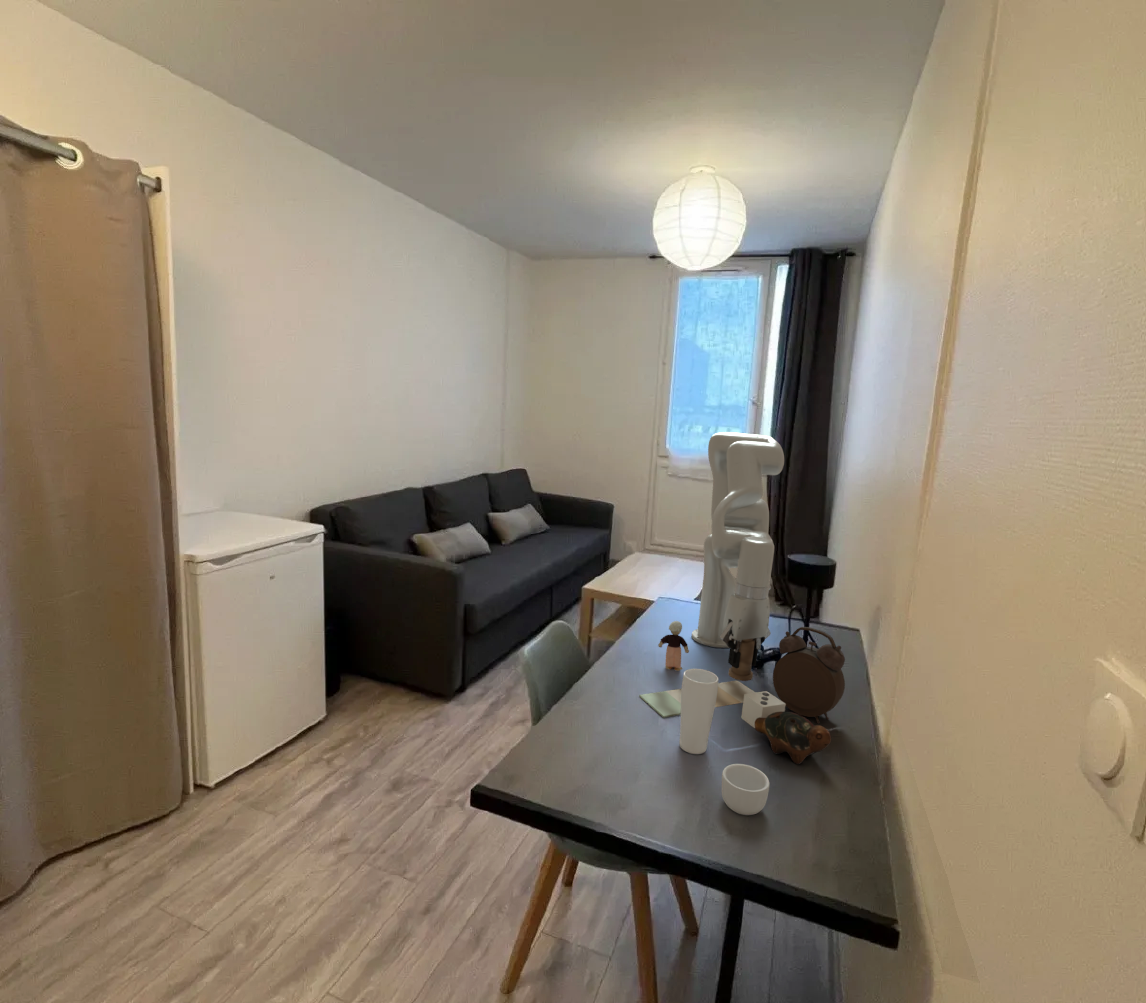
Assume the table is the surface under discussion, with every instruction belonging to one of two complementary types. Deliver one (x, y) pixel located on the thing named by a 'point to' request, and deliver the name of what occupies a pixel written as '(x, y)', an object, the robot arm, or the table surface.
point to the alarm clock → (809, 675)
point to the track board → (671, 700)
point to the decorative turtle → (793, 735)
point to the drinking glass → (697, 709)
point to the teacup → (744, 788)
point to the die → (760, 706)
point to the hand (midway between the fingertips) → (741, 663)
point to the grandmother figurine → (674, 646)
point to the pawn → (744, 662)
